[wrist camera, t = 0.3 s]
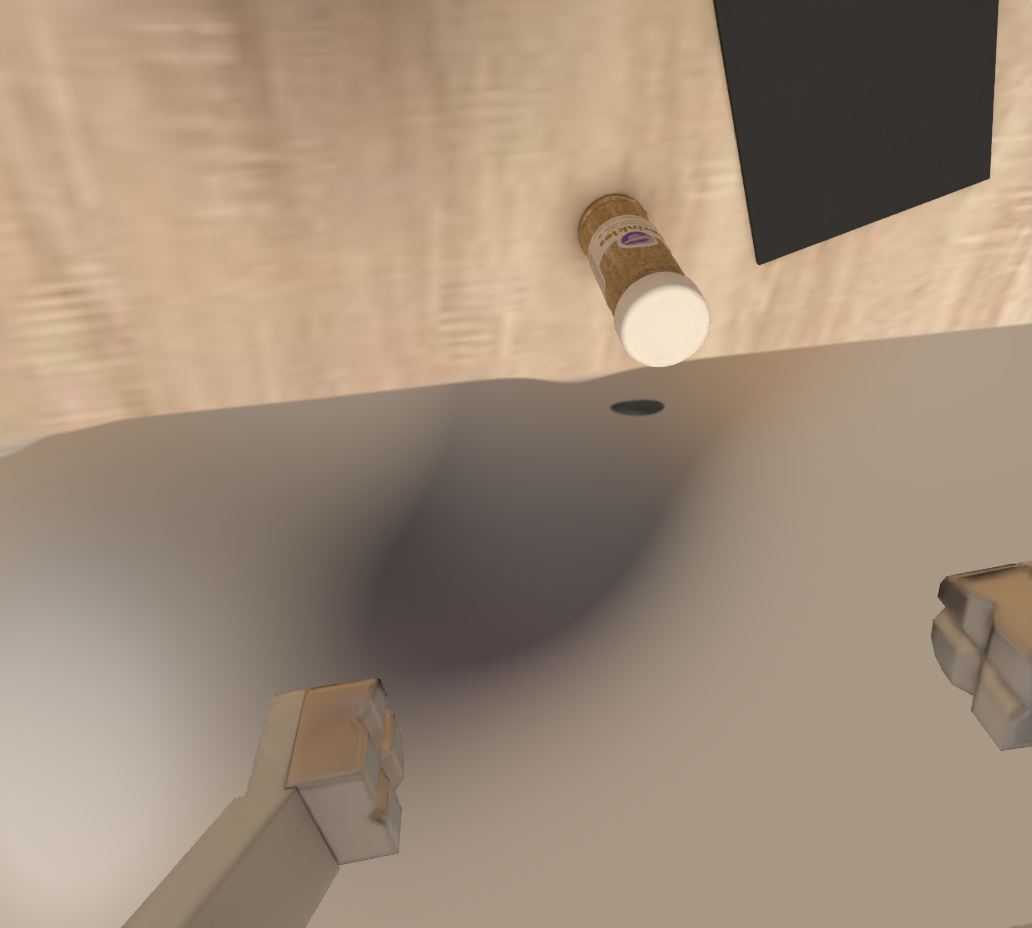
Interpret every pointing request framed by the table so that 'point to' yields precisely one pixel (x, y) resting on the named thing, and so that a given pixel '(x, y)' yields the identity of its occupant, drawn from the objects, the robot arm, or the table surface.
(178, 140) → the table surface
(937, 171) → the desk pad
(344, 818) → the robot arm
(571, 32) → the table surface
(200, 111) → the table surface
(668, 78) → the table surface
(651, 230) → the sprinkles bottle
